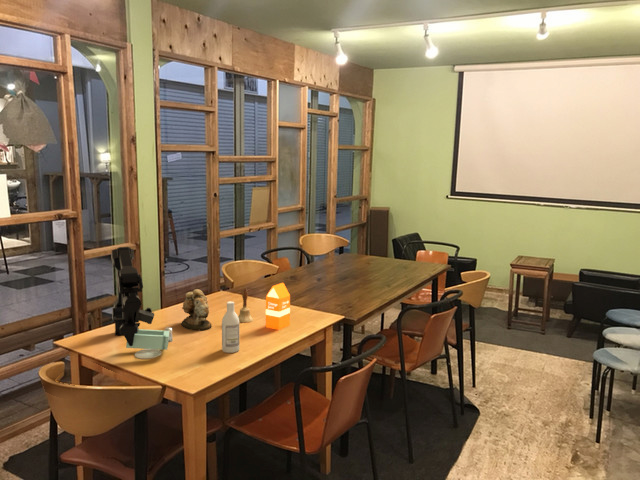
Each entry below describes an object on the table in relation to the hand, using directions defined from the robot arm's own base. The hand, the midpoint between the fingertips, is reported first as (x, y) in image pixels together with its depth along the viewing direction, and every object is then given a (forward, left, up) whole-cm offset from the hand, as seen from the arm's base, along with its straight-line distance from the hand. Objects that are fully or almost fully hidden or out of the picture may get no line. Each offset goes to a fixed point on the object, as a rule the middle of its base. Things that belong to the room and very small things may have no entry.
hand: (131, 344), depth 199 cm
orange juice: (+62, +30, -6) cm, 69 cm away
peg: (+13, +19, -6) cm, 24 cm away
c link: (+5, +5, -2) cm, 7 cm away
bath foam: (+38, +3, -6) cm, 38 cm away
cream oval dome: (+6, +5, -6) cm, 10 cm away
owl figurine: (+25, +38, -6) cm, 46 cm away
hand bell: (+48, +42, -6) cm, 64 cm away
